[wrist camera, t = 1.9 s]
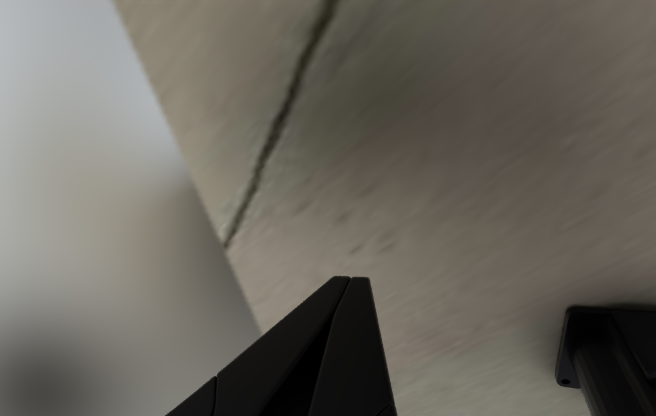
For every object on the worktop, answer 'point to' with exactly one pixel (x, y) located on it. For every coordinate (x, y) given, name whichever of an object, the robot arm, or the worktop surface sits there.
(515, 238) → the worktop surface
